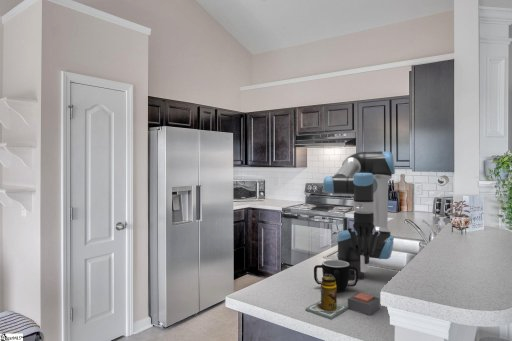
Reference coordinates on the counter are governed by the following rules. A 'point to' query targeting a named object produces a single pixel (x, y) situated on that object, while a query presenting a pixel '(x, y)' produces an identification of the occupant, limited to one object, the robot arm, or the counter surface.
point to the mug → (337, 273)
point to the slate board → (324, 313)
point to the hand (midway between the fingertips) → (363, 271)
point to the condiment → (328, 295)
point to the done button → (363, 297)
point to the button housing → (364, 305)
